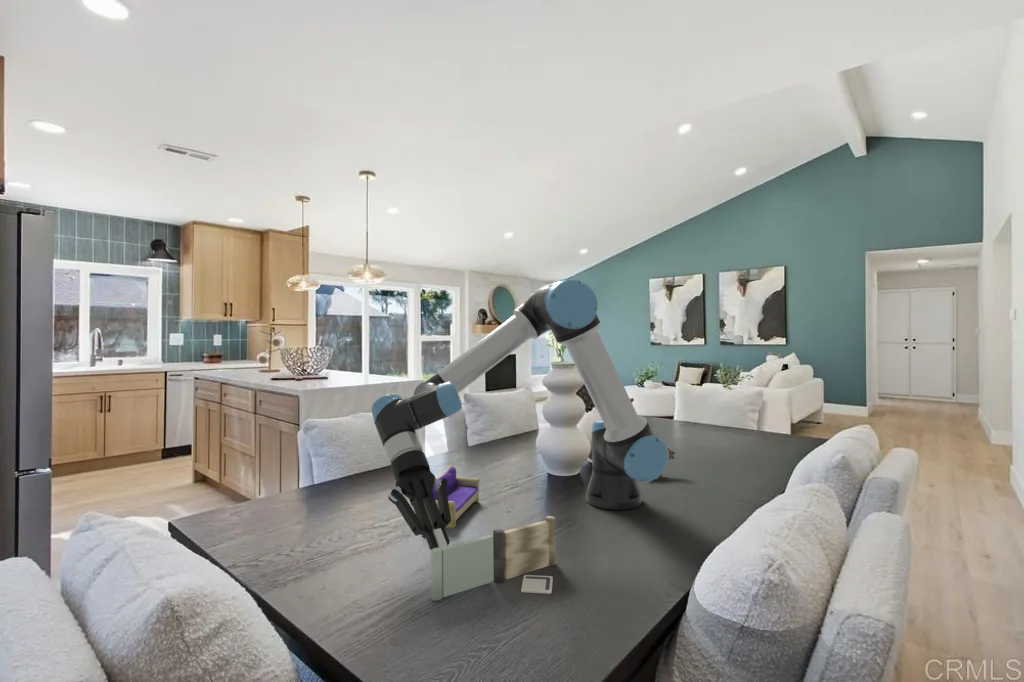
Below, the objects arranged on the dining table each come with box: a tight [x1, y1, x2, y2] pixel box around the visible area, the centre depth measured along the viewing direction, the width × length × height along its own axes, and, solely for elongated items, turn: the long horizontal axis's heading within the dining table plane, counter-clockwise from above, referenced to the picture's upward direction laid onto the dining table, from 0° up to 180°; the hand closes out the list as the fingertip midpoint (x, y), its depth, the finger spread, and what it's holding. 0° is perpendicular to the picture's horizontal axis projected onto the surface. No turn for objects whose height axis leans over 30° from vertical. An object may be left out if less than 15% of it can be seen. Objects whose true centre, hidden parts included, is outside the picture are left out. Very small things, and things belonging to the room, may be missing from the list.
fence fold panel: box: [430, 534, 494, 601], centre depth 93 cm, size 12×2×8 cm, turn 123°
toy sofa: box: [424, 465, 480, 529], centre depth 134 cm, size 21×9×10 cm, turn 166°
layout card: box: [520, 574, 554, 595], centre depth 96 cm, size 6×6×1 cm
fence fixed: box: [492, 515, 556, 584], centre depth 101 cm, size 14×2×10 cm, turn 123°
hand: (447, 563), depth 96 cm, fingers closed
